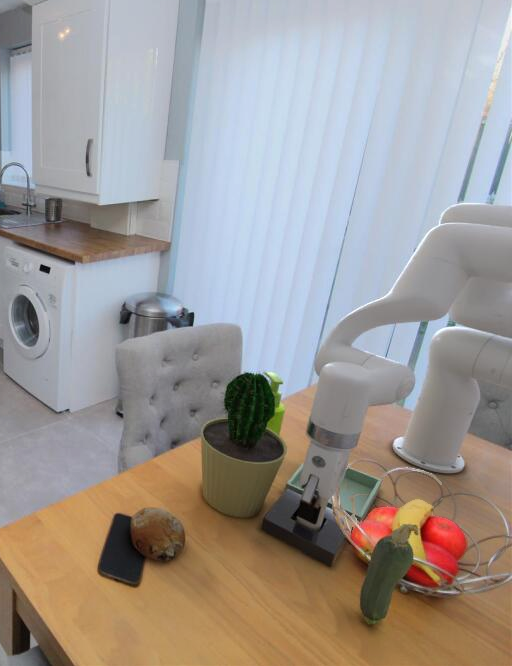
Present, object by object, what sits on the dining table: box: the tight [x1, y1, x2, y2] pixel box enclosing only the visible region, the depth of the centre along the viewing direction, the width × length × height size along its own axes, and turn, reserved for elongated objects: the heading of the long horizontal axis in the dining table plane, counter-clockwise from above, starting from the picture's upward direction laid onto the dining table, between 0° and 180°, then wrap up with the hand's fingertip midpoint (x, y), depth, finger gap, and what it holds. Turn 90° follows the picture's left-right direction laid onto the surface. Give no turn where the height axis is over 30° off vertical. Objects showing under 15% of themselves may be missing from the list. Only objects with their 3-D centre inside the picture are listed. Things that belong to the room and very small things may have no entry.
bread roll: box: [129, 506, 186, 562], centre depth 90 cm, size 10×10×8 cm
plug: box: [295, 488, 328, 533], centre depth 90 cm, size 4×4×10 cm
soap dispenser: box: [263, 371, 286, 436], centre depth 111 cm, size 6×7×20 cm
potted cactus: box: [200, 370, 288, 518], centre depth 95 cm, size 15×15×30 cm
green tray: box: [283, 460, 383, 522], centre depth 100 cm, size 15×13×3 cm
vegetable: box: [359, 523, 421, 626], centre depth 72 cm, size 4×4×20 cm
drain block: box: [260, 489, 348, 568], centre depth 91 cm, size 12×12×3 cm
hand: (311, 512), depth 90 cm, fingers closed on plug, 4 cm apart
